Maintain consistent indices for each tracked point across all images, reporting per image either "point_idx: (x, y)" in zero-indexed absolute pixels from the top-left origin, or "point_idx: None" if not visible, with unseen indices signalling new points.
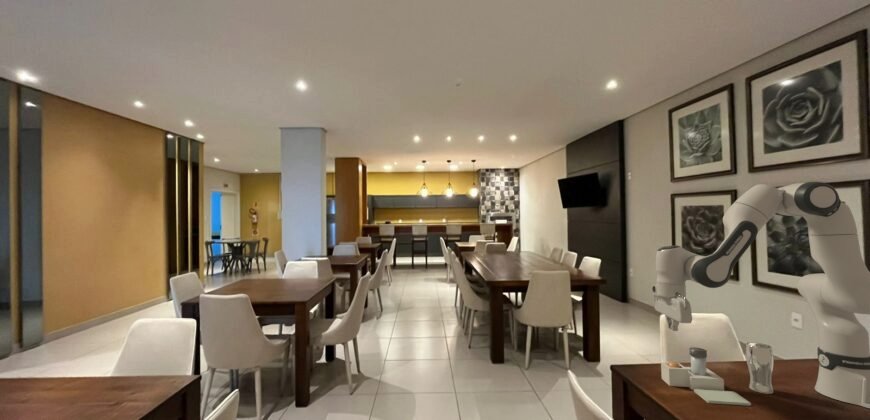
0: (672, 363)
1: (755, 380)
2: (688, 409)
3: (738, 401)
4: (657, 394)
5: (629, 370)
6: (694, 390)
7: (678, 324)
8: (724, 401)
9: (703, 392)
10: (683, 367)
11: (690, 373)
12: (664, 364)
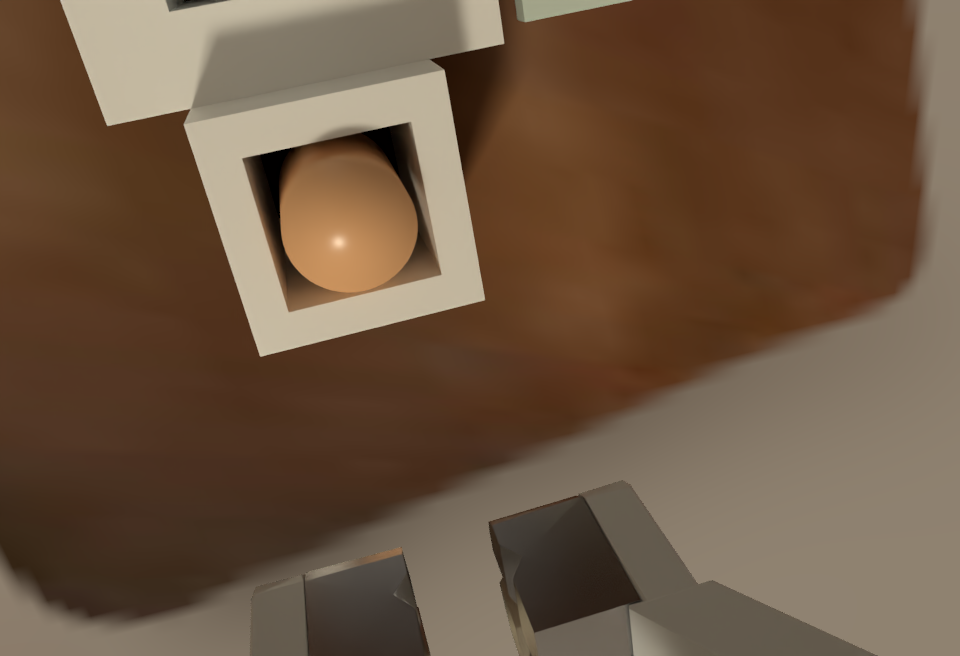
0: (360, 248)
1: None
2: (882, 182)
3: None
4: (661, 356)
5: (150, 534)
6: (529, 18)
7: (800, 622)
8: None
9: None
10: (384, 109)
11: (347, 3)
12: (348, 328)
